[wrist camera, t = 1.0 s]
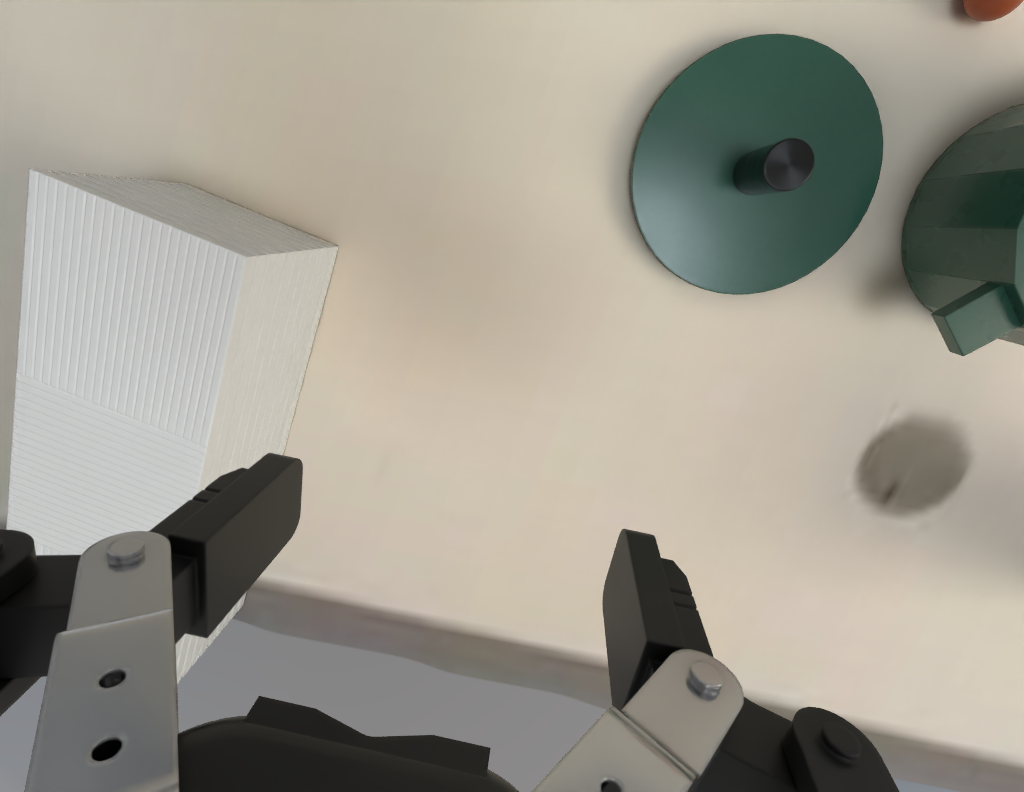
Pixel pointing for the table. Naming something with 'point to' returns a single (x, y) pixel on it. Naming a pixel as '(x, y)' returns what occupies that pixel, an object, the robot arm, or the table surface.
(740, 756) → the robot arm
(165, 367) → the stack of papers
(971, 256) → the pot
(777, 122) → the lid
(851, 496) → the table surface
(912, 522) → the table surface
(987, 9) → the hot dog
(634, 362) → the table surface
